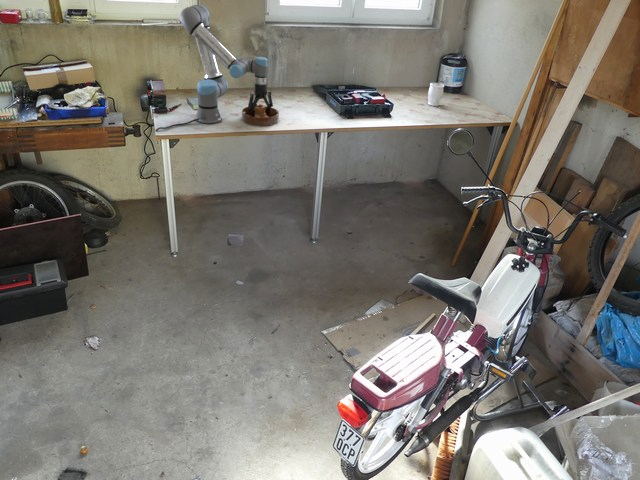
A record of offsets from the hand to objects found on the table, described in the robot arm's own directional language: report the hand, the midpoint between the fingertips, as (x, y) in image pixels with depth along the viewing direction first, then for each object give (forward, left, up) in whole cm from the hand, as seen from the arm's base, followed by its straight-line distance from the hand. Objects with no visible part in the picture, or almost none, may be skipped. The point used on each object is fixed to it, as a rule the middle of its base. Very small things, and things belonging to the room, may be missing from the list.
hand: (260, 118), depth 336 cm
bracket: (0, 0, 0) cm, 0 cm away
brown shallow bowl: (0, 0, -1) cm, 1 cm away
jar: (+137, -17, -1) cm, 138 cm away
